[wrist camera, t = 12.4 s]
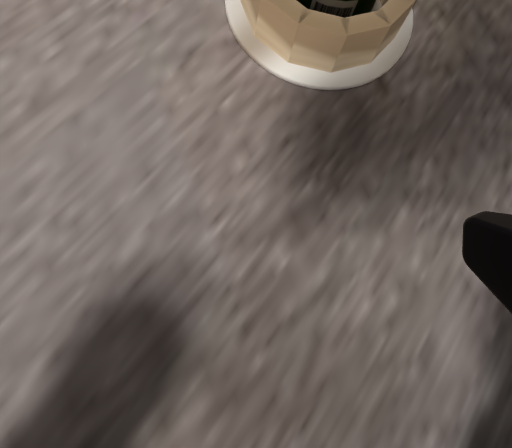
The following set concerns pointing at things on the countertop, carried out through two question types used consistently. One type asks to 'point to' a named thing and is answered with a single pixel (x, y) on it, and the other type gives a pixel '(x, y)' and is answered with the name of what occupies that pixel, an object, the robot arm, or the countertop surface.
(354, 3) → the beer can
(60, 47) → the countertop surface
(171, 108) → the countertop surface
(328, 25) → the can holder
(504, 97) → the countertop surface
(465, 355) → the countertop surface
